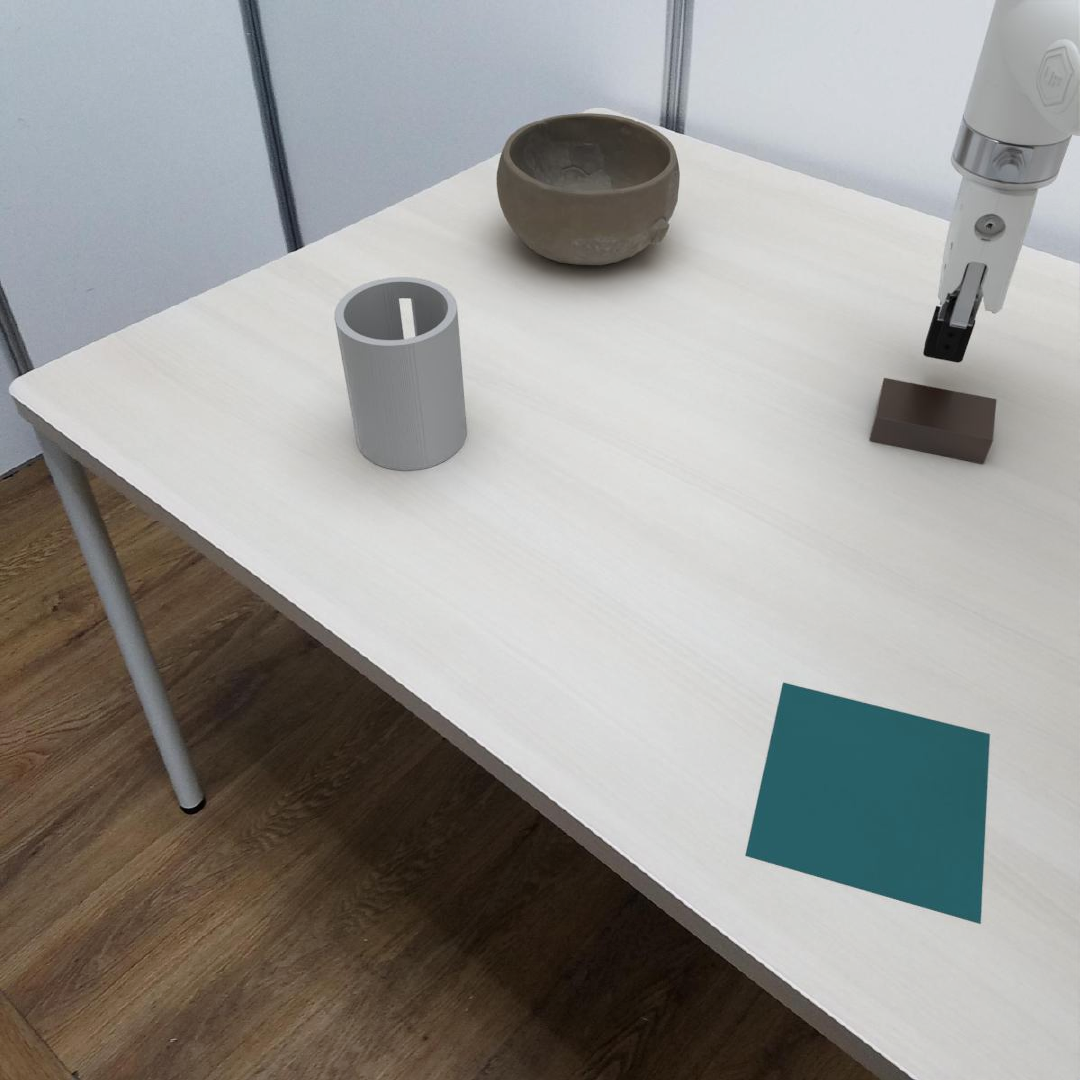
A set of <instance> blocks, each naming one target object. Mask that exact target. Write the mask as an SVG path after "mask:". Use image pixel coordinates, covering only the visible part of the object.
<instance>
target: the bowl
mask: <svg viewBox="0 0 1080 1080" xmlns="http://www.w3.org/2000/svg"><path fill="white" fill-rule="evenodd" d="M680 179H681V171H680V165H679V159H678V155H677V152H676V149H675V146H674V144H673V143H672V141H670V139H669V138H667V137H666V136H665V135H664V134H663V133H662V132H660V131H659V130H658V129H655V128H653V127H651V126H650V125H647V124H645V123H643V122H640V121H637V120H634V119H632V118H628V117H624V116H621V115H614V114H607V113H591V112H590V113H589V112H585V113H584V112H583V113H570V114H561V115H553V116H551V117H547V118H543V119H541V120H535V121H533V122H529V123H527V124H525V125H523V126H521V127H520V128H518V129H516V130H515V131H514V132H513V133H511V134H510V135H509V137H508V138H507V140H506V142H505V144H504V146H503V148H502V151H501V154H500V157H499V160H498V166H497V169H496V191H497V199H498V202H499V206H500V208H501V211H502V214H503V216H504V218H505V220H506V222H507V223H508V226H509V227H510V228H511V229H512V231H513V233H515V235H516V236H517V237H518V238H519V240H521V241H522V242H523V244H525V245H526V246H527V247H528V248H529V249H531V250H532V251H533V252H535V253H536V254H537V255H540V256H541V257H544V258H545V259H548V260H551V261H553V262H557V263H561V264H569V265H577V266H604V265H609V264H613V263H618V262H621V261H623V260H625V259H630V258H632V257H634V256H635V255H637V254H638V253H640V252H642V251H643V250H644V249H645V248H647V247H648V246H649V245H650V244H652V245H655V244H659V243H661V242H662V240H663V239H664V238H665V237H666V235H667V233H668V231H669V228H670V223H669V221H670V220H671V218H672V216H673V215H674V212H675V209H676V207H677V204H678V202H679V200H678V199H679V190H680Z"/></svg>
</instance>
